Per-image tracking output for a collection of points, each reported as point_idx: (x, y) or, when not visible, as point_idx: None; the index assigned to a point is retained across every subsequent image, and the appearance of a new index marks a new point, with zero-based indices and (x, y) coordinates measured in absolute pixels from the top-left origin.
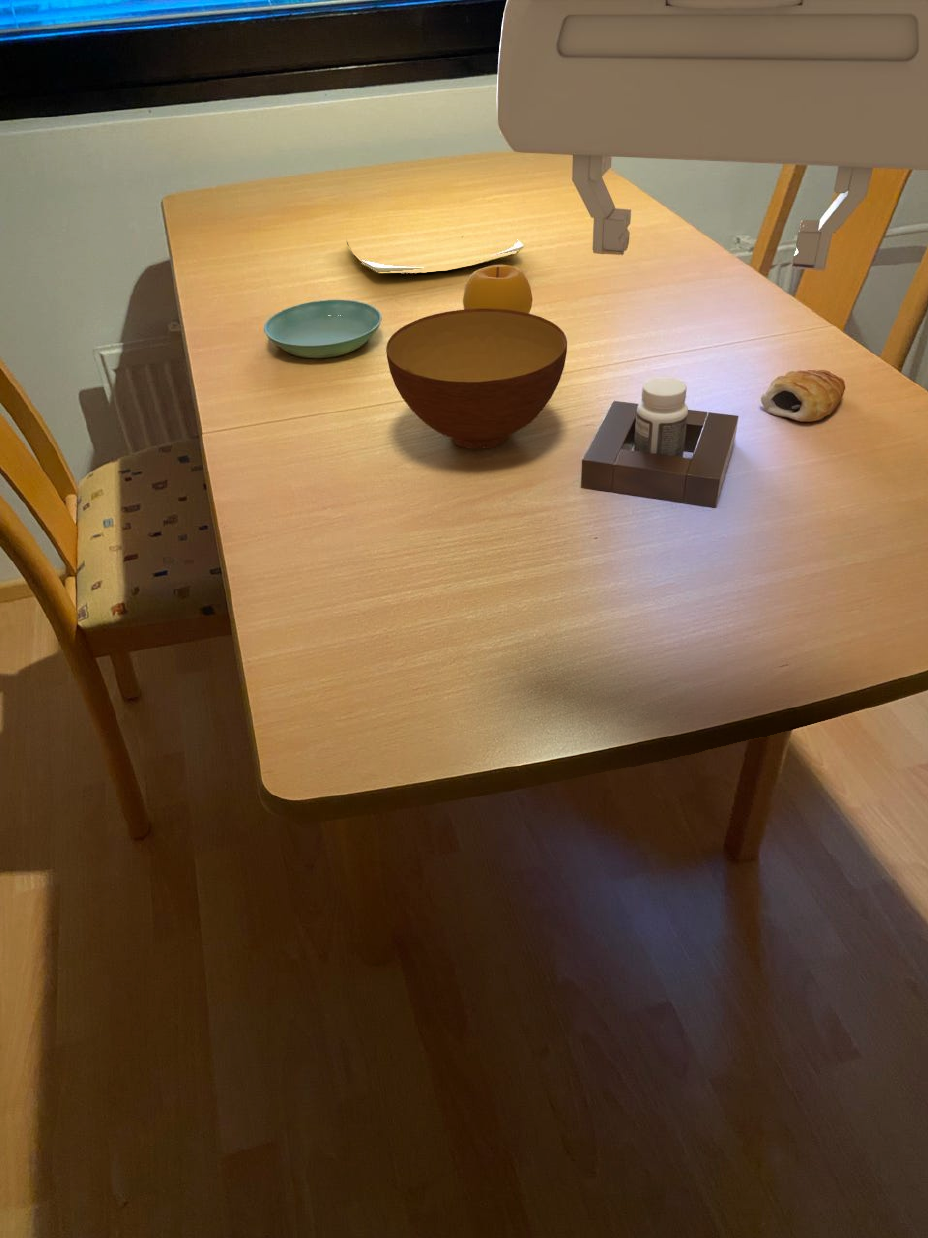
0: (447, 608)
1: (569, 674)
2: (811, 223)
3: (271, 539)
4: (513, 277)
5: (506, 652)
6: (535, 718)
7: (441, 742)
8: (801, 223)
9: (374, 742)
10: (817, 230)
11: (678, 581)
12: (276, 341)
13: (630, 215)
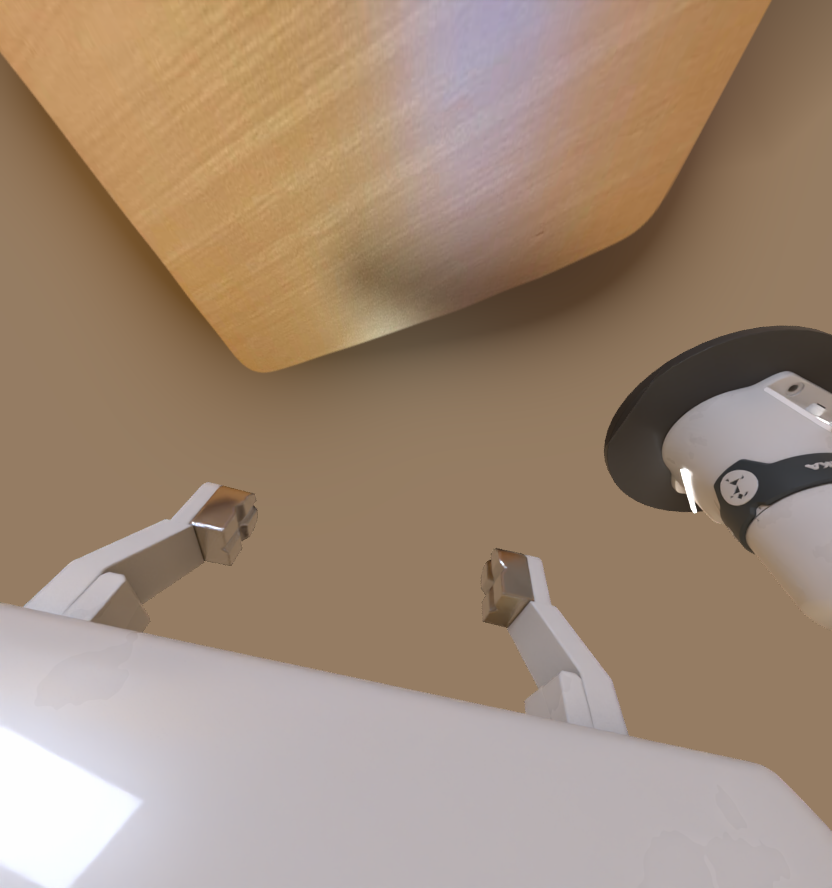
0: (268, 176)
1: (380, 260)
2: (511, 606)
3: (42, 49)
4: None
5: (331, 237)
6: (364, 308)
7: (315, 332)
8: (496, 604)
9: (279, 334)
10: (509, 624)
11: (472, 90)
12: None
13: (228, 527)
